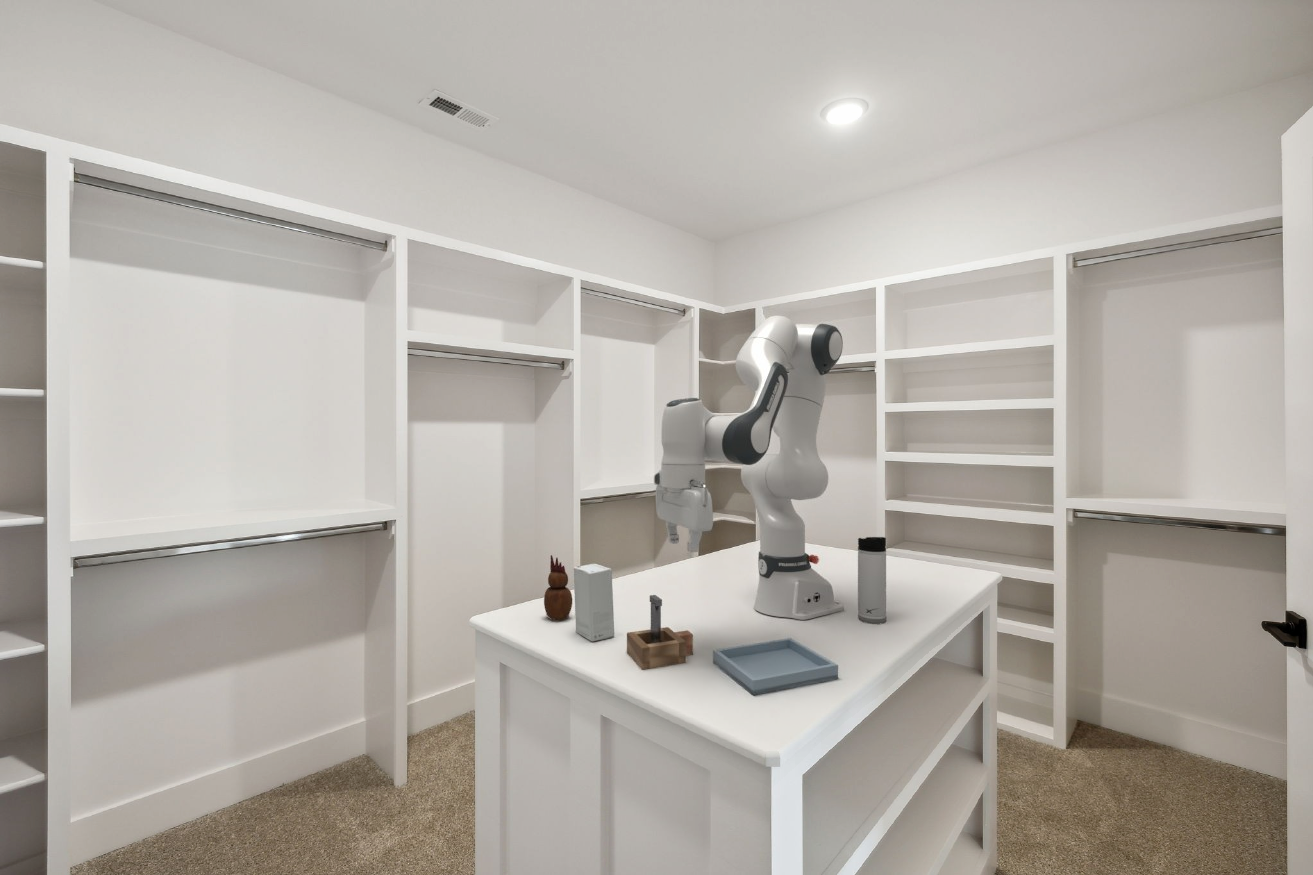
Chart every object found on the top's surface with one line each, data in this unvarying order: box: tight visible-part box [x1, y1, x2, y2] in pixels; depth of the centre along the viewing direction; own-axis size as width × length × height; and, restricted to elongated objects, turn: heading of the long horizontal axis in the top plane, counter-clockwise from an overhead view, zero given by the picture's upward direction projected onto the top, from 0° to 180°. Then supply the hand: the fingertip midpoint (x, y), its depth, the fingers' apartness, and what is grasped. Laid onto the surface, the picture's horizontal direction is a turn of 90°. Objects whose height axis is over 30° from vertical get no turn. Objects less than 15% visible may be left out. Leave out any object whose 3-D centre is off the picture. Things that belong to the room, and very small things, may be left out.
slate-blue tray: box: [712, 637, 839, 696], centre depth 105 cm, size 18×15×2 cm
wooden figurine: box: [543, 554, 573, 621], centre depth 135 cm, size 7×6×15 cm
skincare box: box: [573, 563, 615, 642], centre depth 124 cm, size 8×6×15 cm
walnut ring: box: [626, 626, 694, 670], centre depth 112 cm, size 12×9×4 cm
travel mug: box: [857, 536, 887, 625], centre depth 133 cm, size 6×7×20 cm
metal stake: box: [649, 594, 663, 644], centre depth 111 cm, size 4×4×12 cm
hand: (682, 547), depth 113 cm, fingers open, 8 cm apart
